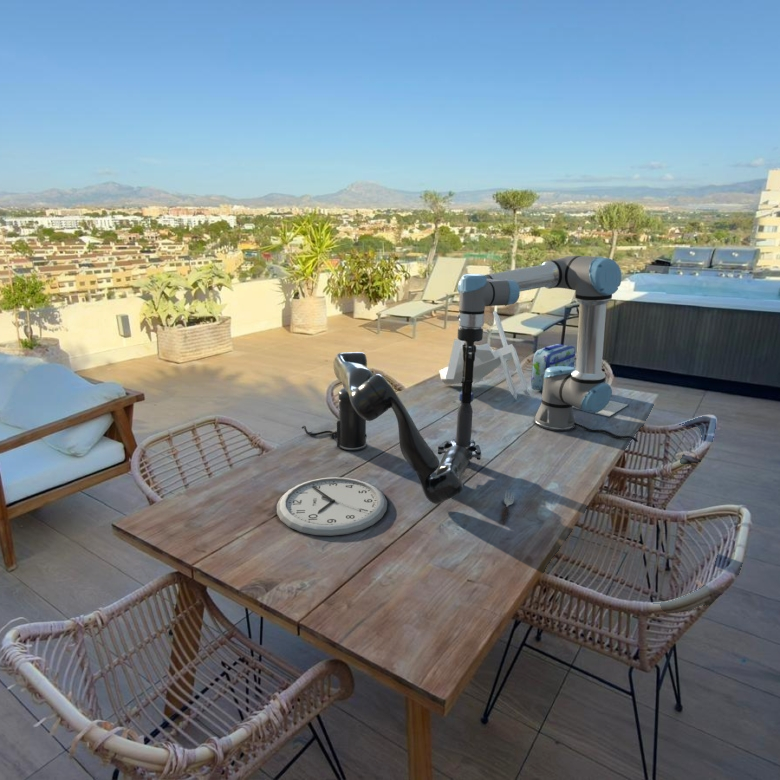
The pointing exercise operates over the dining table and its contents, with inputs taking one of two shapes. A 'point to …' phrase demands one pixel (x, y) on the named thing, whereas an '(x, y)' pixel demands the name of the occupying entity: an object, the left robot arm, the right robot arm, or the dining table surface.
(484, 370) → the white plastic object
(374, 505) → the wall clock
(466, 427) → the bottle
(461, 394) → the cap
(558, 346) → the lunch box
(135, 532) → the dining table surface
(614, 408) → the invitation card
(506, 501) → the fork
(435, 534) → the dining table surface
